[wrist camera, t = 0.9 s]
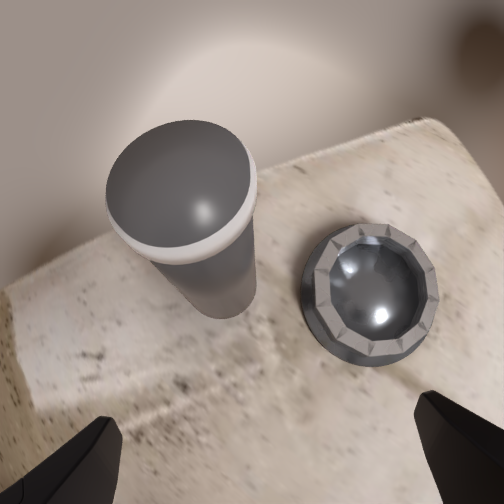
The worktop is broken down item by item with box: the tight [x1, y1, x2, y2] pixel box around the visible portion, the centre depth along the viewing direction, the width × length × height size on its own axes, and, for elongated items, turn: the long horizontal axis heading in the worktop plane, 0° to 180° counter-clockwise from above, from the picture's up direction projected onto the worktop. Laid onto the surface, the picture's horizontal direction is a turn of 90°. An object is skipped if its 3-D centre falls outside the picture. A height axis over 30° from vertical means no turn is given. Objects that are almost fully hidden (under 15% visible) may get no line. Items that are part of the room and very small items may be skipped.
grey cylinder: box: [106, 120, 257, 319], centre depth 16 cm, size 5×5×14 cm
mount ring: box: [301, 224, 439, 367], centre depth 21 cm, size 11×11×2 cm
